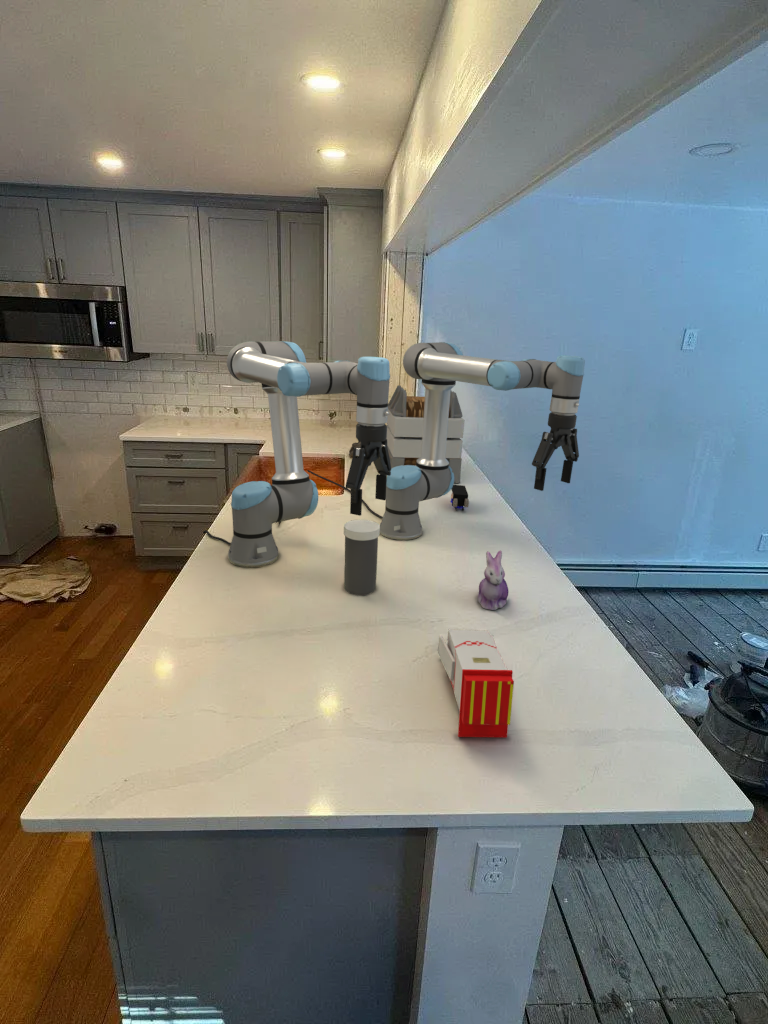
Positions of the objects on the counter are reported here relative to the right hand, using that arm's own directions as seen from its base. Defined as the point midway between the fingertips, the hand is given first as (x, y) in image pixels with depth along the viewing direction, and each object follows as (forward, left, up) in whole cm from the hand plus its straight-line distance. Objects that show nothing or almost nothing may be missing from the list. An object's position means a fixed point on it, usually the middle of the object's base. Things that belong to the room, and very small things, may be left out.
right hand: (552, 485), depth 166 cm
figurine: (+4, -27, -28) cm, 39 cm away
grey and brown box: (-101, +46, -28) cm, 115 cm away
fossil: (-145, +45, -28) cm, 154 cm away
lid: (-25, -51, -10) cm, 58 cm away
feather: (-87, -37, -28) cm, 99 cm away
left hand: (-18, -55, -1) cm, 58 cm away
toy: (+26, -62, -28) cm, 72 cm away
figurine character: (-56, +25, -28) cm, 67 cm away
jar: (-25, -51, -28) cm, 63 cm away
